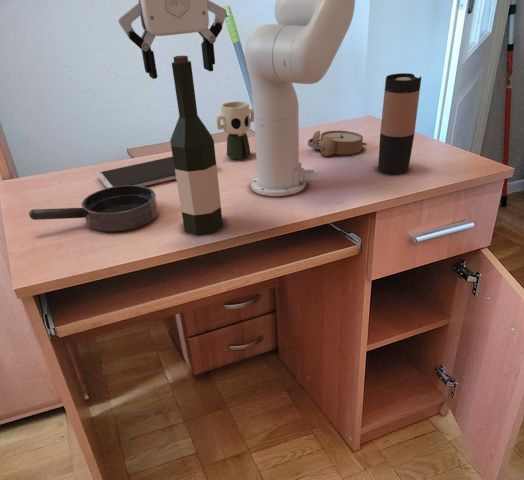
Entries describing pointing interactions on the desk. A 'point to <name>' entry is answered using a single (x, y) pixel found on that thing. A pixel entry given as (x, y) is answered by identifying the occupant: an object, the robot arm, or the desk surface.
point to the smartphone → (140, 173)
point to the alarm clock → (337, 142)
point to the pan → (120, 208)
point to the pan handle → (56, 213)
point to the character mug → (236, 127)
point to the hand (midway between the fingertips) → (181, 73)
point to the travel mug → (398, 122)
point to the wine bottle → (194, 158)
